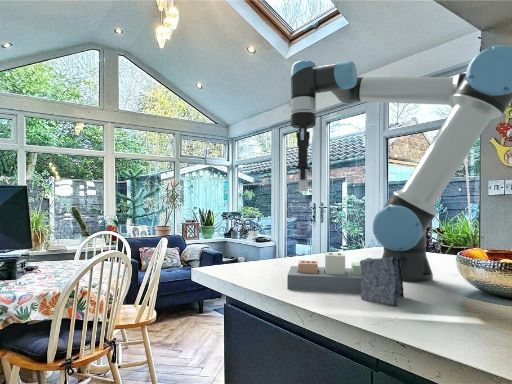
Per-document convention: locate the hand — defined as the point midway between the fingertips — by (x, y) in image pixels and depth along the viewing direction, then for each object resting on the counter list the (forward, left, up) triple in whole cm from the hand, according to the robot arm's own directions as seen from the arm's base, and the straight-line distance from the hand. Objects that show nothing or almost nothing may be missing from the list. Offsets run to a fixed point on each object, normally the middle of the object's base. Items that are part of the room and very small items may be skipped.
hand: (303, 190), depth 106 cm
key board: (-9, +12, -26) cm, 30 cm away
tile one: (-16, +12, -25) cm, 32 cm away
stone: (-19, +23, -27) cm, 40 cm away
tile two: (-9, +12, -22) cm, 27 cm away
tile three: (-2, +12, -25) cm, 27 cm away
